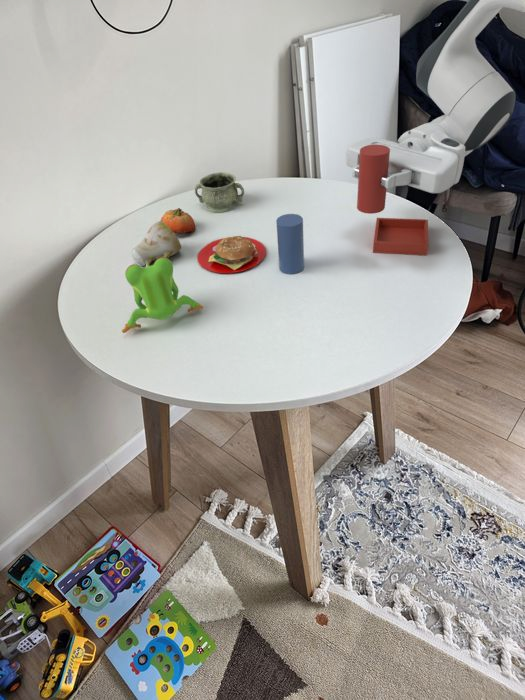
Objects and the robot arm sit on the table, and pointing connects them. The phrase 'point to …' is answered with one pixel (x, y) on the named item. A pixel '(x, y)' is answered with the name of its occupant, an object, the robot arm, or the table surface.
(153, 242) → the mug
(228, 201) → the vessel
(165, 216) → the tomato
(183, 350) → the table surface
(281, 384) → the table surface
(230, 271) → the hamburger
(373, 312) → the table surface
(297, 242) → the blue canister
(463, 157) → the robot arm
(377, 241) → the red tray
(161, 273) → the toy
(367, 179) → the red canister
